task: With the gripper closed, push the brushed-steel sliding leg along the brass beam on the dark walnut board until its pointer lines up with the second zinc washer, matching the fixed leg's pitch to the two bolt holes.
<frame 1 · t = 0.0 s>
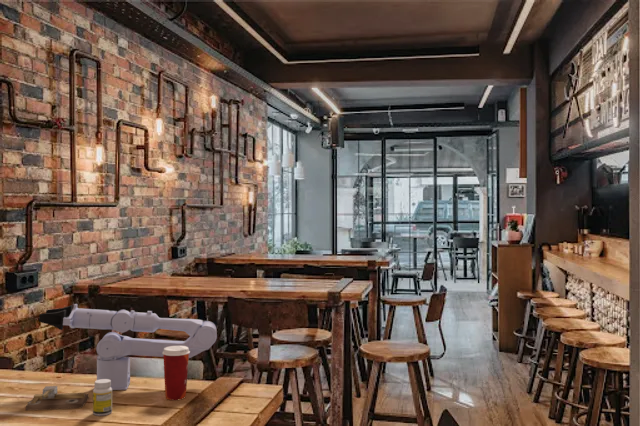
hand: (42, 315, 181), 22 cm above the table, tool horizontal, fingers open, 7 cm apart
paper cup: (175, 398, 175), on the table
pitch board: (58, 403, 168), on the table
sliding leg: (48, 394, 167), point 3 cm above the table, slide at 2.5 cm
supplement bottle: (102, 413, 160), on the table
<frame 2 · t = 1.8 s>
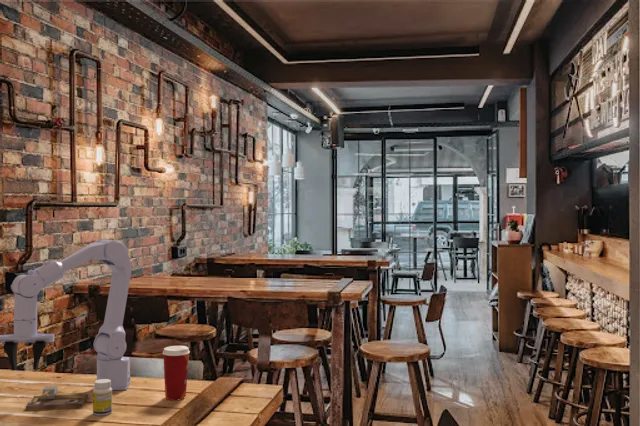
hand: (25, 369, 168), 9 cm above the table, tool pointing down, fingers open, 5 cm apart
nothing on the table moved.
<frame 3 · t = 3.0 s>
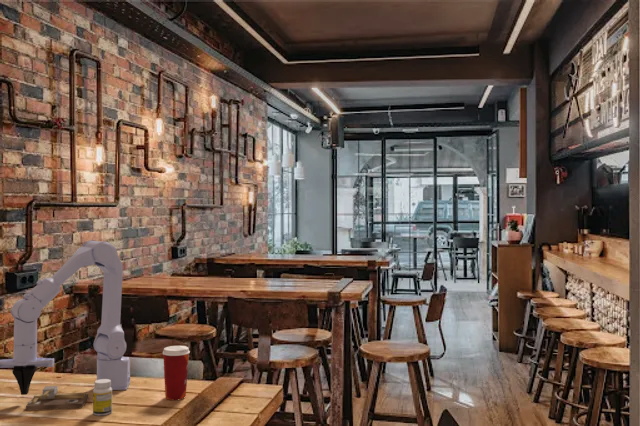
hand: (24, 393, 168), 3 cm above the table, tool pointing down, fingers closed
nothing on the table moved.
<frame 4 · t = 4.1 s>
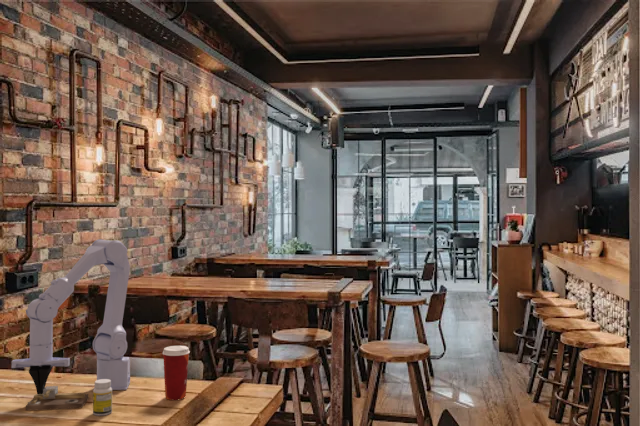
hand: (40, 393, 168), 3 cm above the table, tool pointing down, fingers closed
sliding leg: (48, 394, 167), point 3 cm above the table, slide at 2.4 cm, touching gripper
everything else where it was.
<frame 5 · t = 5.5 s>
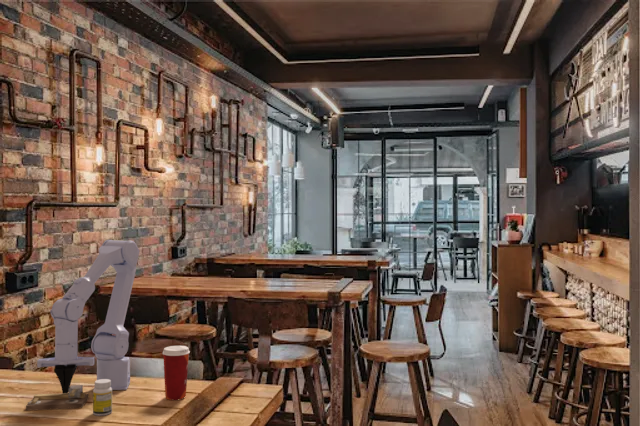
hand: (65, 392, 169), 3 cm above the table, tool pointing down, fingers closed
sliding leg: (74, 393, 168), point 3 cm above the table, slide at -4.1 cm, touching gripper
everything else where it was.
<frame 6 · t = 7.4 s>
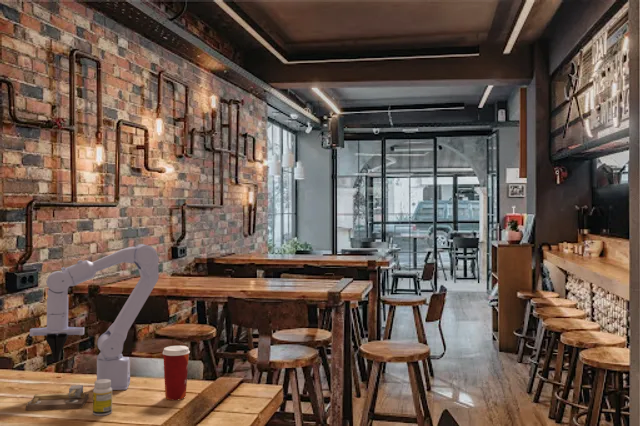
hand: (57, 360, 178), 9 cm above the table, tool pointing down, fingers closed
sliding leg: (74, 393, 168), point 3 cm above the table, slide at -4.2 cm
everything else where it was.
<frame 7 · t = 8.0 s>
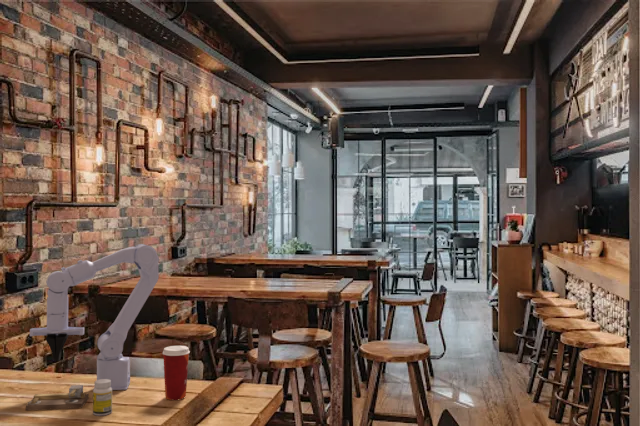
hand: (57, 360, 178), 9 cm above the table, tool pointing down, fingers closed
nothing on the table moved.
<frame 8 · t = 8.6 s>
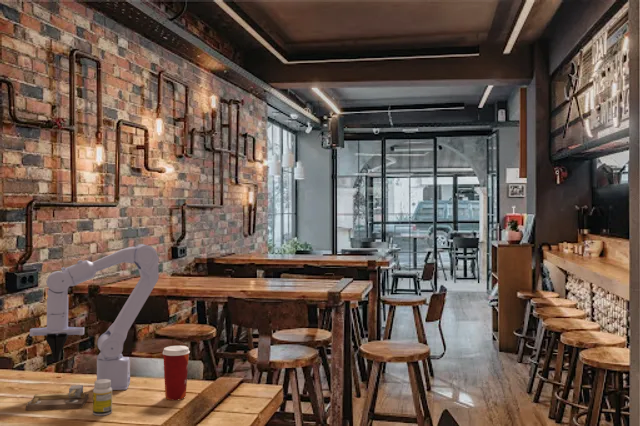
hand: (57, 360, 178), 9 cm above the table, tool pointing down, fingers closed
nothing on the table moved.
at the end: sliding leg slide at -4.2 cm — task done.
